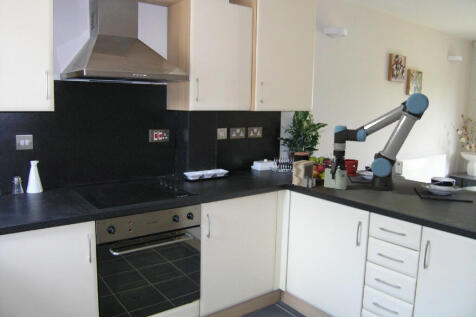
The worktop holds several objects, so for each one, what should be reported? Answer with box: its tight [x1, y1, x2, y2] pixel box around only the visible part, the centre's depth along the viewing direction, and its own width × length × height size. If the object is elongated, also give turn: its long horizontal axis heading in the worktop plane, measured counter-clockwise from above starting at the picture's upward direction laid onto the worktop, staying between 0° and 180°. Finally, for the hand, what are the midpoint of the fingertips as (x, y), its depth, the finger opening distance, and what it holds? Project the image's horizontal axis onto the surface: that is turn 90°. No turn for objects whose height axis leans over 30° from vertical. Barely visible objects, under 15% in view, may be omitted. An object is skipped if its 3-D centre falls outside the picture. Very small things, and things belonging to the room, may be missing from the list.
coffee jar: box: [293, 151, 310, 162], centre depth 288 cm, size 11×11×18 cm
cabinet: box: [291, 160, 315, 187], centre depth 266 cm, size 9×14×15 cm, turn 143°
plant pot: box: [345, 158, 359, 177], centre depth 302 cm, size 13×13×12 cm
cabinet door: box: [323, 167, 348, 191], centre depth 255 cm, size 14×4×12 cm, turn 53°
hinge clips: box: [301, 176, 317, 188], centre depth 259 cm, size 6×6×6 cm
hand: (337, 182), depth 255 cm, fingers open, 12 cm apart
